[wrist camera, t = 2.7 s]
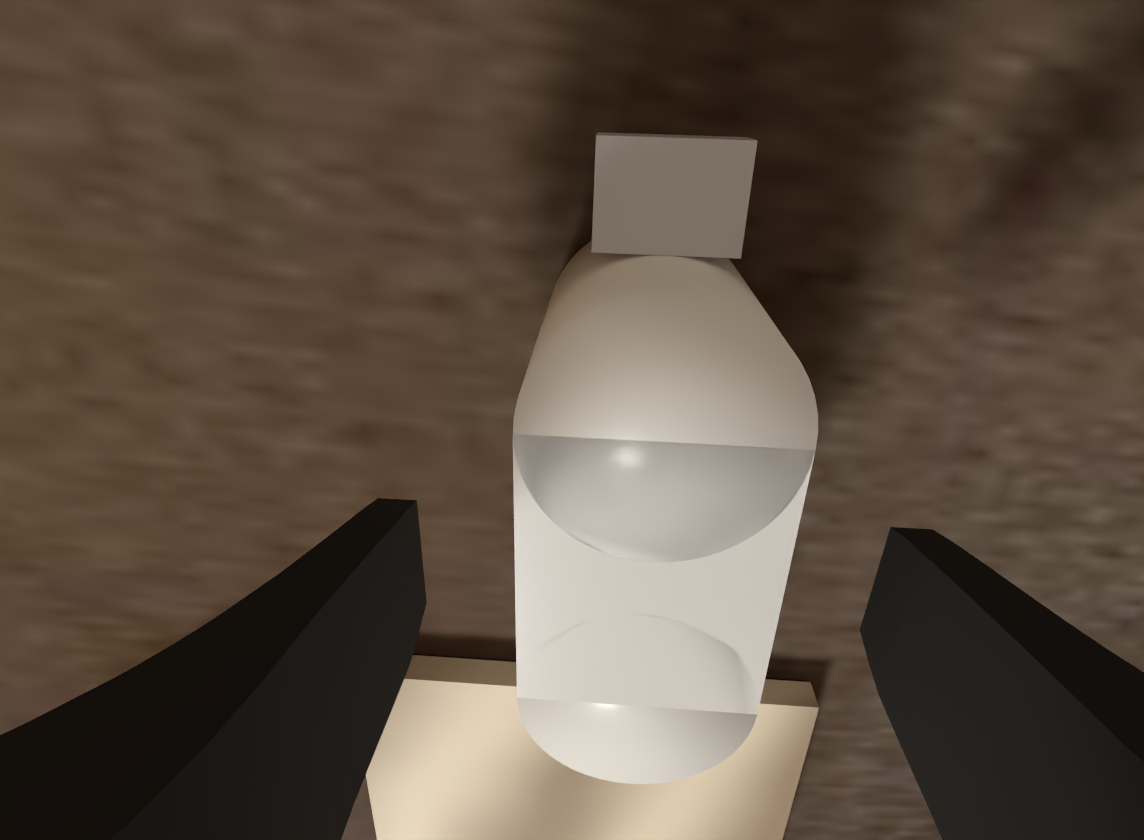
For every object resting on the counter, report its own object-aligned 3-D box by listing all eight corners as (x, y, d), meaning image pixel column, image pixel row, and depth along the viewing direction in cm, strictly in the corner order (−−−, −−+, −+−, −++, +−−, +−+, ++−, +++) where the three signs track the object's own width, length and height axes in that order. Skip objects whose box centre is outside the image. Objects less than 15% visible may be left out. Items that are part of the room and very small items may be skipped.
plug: (550, 125, 12) (509, 143, 7) (777, 132, 11) (880, 155, 7) (545, 589, 16) (518, 775, 12) (706, 599, 16) (740, 792, 12)
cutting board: (810, 682, 17) (818, 707, 16) (753, 899, 22) (757, 927, 21) (359, 651, 18) (348, 674, 17) (394, 869, 22) (386, 895, 21)
